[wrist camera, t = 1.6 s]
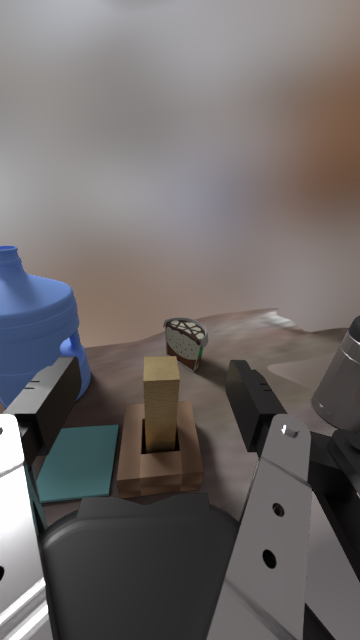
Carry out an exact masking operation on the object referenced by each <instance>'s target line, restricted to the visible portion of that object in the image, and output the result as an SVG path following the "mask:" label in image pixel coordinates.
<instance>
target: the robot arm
mask: <svg viewBox="0 0 360 640" xmlns="http://www.w3.org/2000/svg"><path fill="white" fill-rule="evenodd" d="M81 385H82V380H81V373H80V367H79V361H78V358H77V357H75V356H60V357H59V358H58V359H57V360H56V362H55V363H54V364H53V365H52V366H47V367H46V368H44V369H43V370H41V371H39V372H38V373H37V374H36V375H35V376H34V377H33V379H32V380H31V382H29V383H28V384H27V386H26V387H25V389H23V390H22V391H21V393H20V394H19V395H18V396H17V397H16V398H15V400H14V401H13V402H12V403H11V404H10V405H9V406H8V408H7V409H6V410H5V411H4V412H3V413H2V415H0V640H335V639H334V637H333V636H332V635H331V634H330V632H329V631H328V630H327V629H326V627H325V626H324V625H323V624H322V622H321V621H320V620H319V619H318V618H317V616H316V615H315V614H314V613H313V611H312V610H311V609H310V608H309V607H308V605H307V604H306V603H305V591H306V590H305V589H306V573H307V559H308V544H309V529H310V514H311V498H312V491H313V492H314V493H315V495H316V497H317V499H318V501H319V503H320V505H321V507H322V509H323V511H324V513H325V515H326V517H327V519H328V521H329V523H330V524H331V527H332V528H333V530H334V532H335V534H336V536H337V538H338V540H339V542H340V544H341V546H342V548H343V550H344V552H345V554H346V556H347V558H348V560H349V562H350V564H351V566H352V568H353V570H354V572H355V574H356V576H357V578H358V580H359V582H360V498H359V497H358V495H357V494H356V493H357V492H358V494H359V495H360V435H358V434H356V433H354V432H359V431H360V316H358V317H356V318H355V319H354V321H353V322H352V324H351V326H350V328H349V330H348V331H347V333H346V335H345V337H344V339H343V341H342V343H341V345H340V346H339V348H338V350H337V352H336V354H335V356H334V358H333V360H332V361H331V364H330V365H329V367H328V369H327V371H326V373H325V375H324V376H323V378H322V380H321V382H320V384H319V386H318V387H317V389H316V391H315V393H314V395H313V397H312V405H313V407H314V409H315V410H316V412H317V413H318V414H319V415H320V416H321V417H322V418H323V419H324V420H325V421H327V422H328V423H330V424H331V425H333V426H335V427H337V428H339V429H338V430H336V431H335V432H334V433H333V435H332V437H330V436H326V435H322V434H319V433H315V432H312V431H309V429H308V428H307V427H306V425H305V424H304V423H303V422H301V421H300V420H299V419H297V418H295V417H293V416H291V415H288V414H287V412H286V411H285V409H284V408H283V406H282V405H281V403H280V402H279V400H278V398H277V397H276V395H275V394H274V392H273V391H272V389H271V388H270V386H269V385H268V383H267V381H266V380H265V378H264V377H263V376H262V375H261V374H260V373H259V372H257V371H256V370H251V368H250V367H249V365H248V363H247V362H246V361H245V360H231V361H230V364H229V369H228V374H227V379H226V394H227V397H228V399H229V402H230V405H231V408H232V410H233V413H234V416H235V419H236V421H237V424H238V427H239V430H240V432H241V435H242V438H243V441H244V443H245V446H246V449H247V452H257V454H258V457H259V459H258V462H257V465H256V469H255V472H254V475H253V478H252V481H251V484H250V488H249V491H248V494H247V497H246V500H245V503H244V506H243V509H242V512H241V515H240V518H239V521H237V520H236V519H235V518H234V517H232V516H231V515H230V514H229V513H227V512H226V511H224V510H222V509H221V508H218V507H216V506H214V505H211V504H209V501H208V494H207V493H196V494H177V495H174V496H171V497H168V498H166V499H163V500H160V501H157V502H154V503H152V504H149V505H142V504H138V503H135V502H131V501H128V500H124V499H121V498H117V497H89V498H82V500H81V503H80V507H79V510H76V511H74V512H72V513H69V514H67V515H65V516H64V517H62V518H60V519H59V520H57V521H56V522H54V523H53V524H52V525H50V526H49V527H47V524H46V520H45V517H44V513H43V509H42V505H41V501H40V496H39V492H38V487H37V483H36V478H35V474H34V469H33V466H32V463H33V462H34V460H35V458H36V456H44V455H48V454H49V452H50V450H51V448H52V446H53V444H54V442H55V440H56V438H57V436H58V434H59V432H60V431H61V429H62V427H63V425H64V423H65V421H66V419H67V417H68V415H69V413H70V411H71V409H72V407H73V405H74V403H75V401H76V399H77V397H78V395H79V393H80V390H81Z"/></svg>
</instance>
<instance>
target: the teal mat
mask: <svg viewBox="0 0 360 640" xmlns="http://www.w3.org/2000/svg"><path fill="white" fill-rule="evenodd" d="M118 430H119V424H118V425H104V426H89V427H75V428H62V429H61V431H60V432H59V434H58V436H57V438H56V440H55V442H54V444H53V446H52V448H51V450H50V452H49V454H48V455H47V456H46V459H45V461H44V464H43V466H42V468H41V471H40V473H39V476H38V478H37V481H36V483H37V487H38V492H39V496H40V501H41V503H46V502H55V501H64V500H73V499H82V498H89V497H100V496H108V495H109V492H110V485H111V478H112V471H113V464H114V458H115V451H116V444H117V437H118Z"/></svg>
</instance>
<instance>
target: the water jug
mask: <svg viewBox="0 0 360 640" xmlns="http://www.w3.org/2000/svg"><path fill="white" fill-rule="evenodd" d="M17 250H18V249H17V247H15V246H0V400H1V403H2V404H3V406H4V408H5V410H6V409H7V408H8V406H9V405H10V404H11V403H12V402H13V401H14V400H15V398H16V397H17V396H18V395H19V394H20V393H21V391H22V390H23V389H25V387H26V386H27V384H28V383H29V382H31V380H32V379H33V377H34V376H35V375H36V374H37V373H38V372H39V371H41V370H43V369H44V368H46V367H47V366H52V365H53V364H54V363H55V362H56V360H57V359H58V358H59V357H60V356H75V357H77V358H78V361H79V367H80V373H81V380H82V385H81V390H80V393H79V395H78V397H77V399H76V401H77V400H78V399H79V398H80V397H81V396H82V395H83V394H84V392H85V391H86V390H87V388H88V386H89V383H90V380H91V372H90V367H89V365H88V361H87V356H86V352H85V349H84V347H83V346H82V345H81V343H80V338H79V334H78V329H77V328H78V326H79V319H78V313H77V304H76V300H75V297H74V294H73V290H72V288H71V287H70V286H69V285H68V284H66V283H64V282H61V281H57V280H53V279H48V278H43V277H39V276H34V275H30V274H27V273H25V271H24V270H23V267H22V264H21V259H20V258H19V256H18V254H17ZM68 337H69V338H70V339H67V338H68ZM76 401H75V402H76Z"/></svg>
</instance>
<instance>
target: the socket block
mask: <svg viewBox="0 0 360 640" xmlns="http://www.w3.org/2000/svg"><path fill="white" fill-rule="evenodd" d="M143 437H146V434H145V409H144V404H130V405H126V409H125V417H124V425H123V433H122V441H121V449H120V457H119V465H118V472H117V486H118V491H119V496H120V498H130V497H139V496H147V495H156V494H165V493H173V492H182V491H191V490H199V489H200V487H201V483H202V478H203V474H204V468H203V463H202V458H201V453H200V448H199V442H198V437H197V432H196V427H195V422H194V416H193V411H192V406H191V401H181V402H178V410H177V422H176V435H175V442H176V451H173V452H162V453H151V454H143Z"/></svg>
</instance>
